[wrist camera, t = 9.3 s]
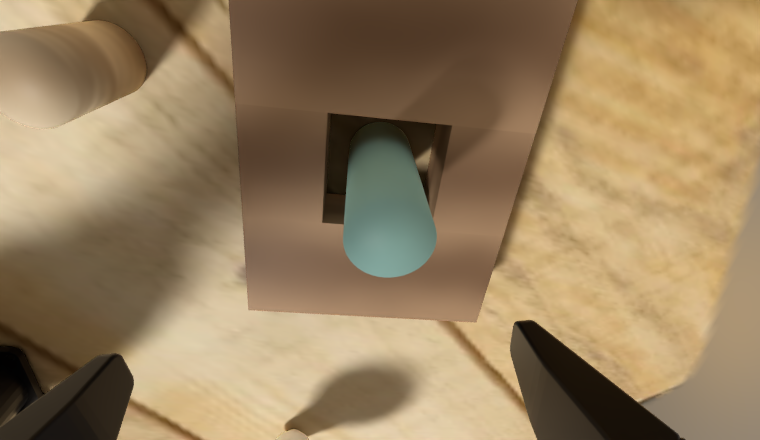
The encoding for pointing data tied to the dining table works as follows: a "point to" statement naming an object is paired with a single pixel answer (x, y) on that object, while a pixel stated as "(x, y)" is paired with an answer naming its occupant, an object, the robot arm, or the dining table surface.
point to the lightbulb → (292, 435)
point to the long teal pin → (385, 205)
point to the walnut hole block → (389, 101)
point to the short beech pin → (66, 71)
